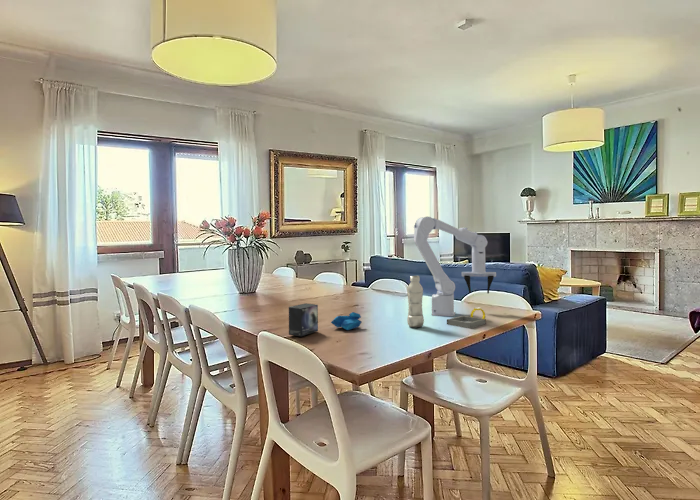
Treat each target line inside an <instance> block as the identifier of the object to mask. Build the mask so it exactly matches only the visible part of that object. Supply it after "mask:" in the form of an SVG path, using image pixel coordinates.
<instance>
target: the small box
mask: <svg viewBox="0 0 700 500" xmlns="http://www.w3.org/2000/svg"><path fill="white" fill-rule="evenodd" d="M318 310H319V305H318V304H313V303H300V304H297V305H292V306H291V305H290V306H288V335H290V336H296V337H303V336H307V335H310V334H313V333H317V332H319V312H318Z"/></svg>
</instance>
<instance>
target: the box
mask: <svg viewBox="0 0 700 500" xmlns="http://www.w3.org/2000/svg"><path fill="white" fill-rule="evenodd" d="M486 320H487V319H486V318H485V319H482V317H474V316H473V317H471V316H468V315H467V316H466V315H461V316H456V317H455V316H454V317H451V318H447V319H446V325H447V326H454V327H460V328H464V329H470V330H471V329H474V328H477V327H480V326H483V325H486V324H487V321H486Z"/></svg>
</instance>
